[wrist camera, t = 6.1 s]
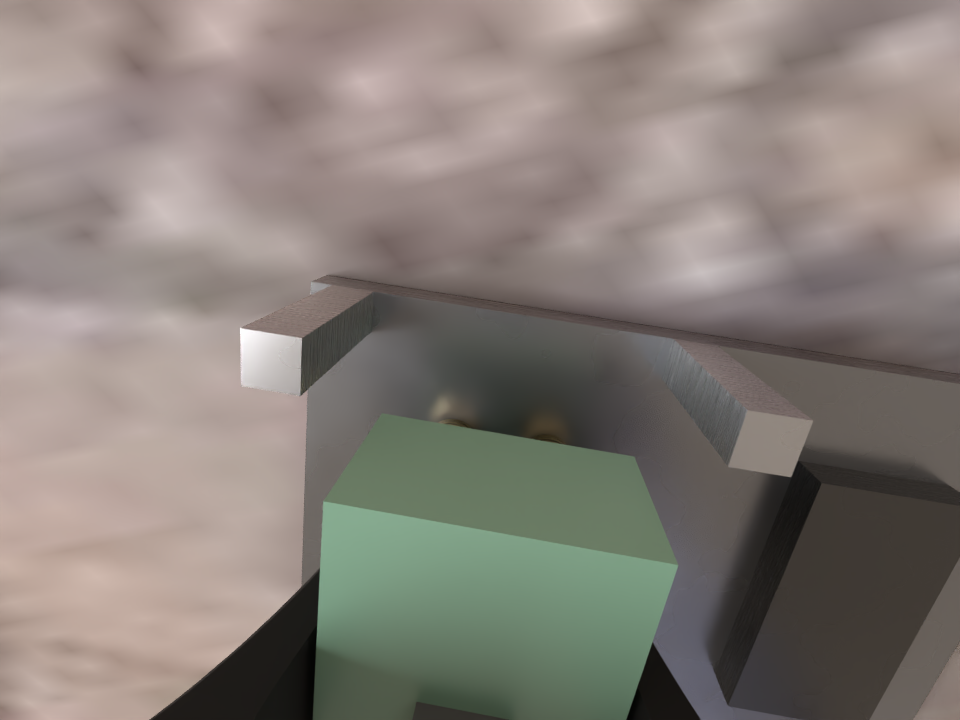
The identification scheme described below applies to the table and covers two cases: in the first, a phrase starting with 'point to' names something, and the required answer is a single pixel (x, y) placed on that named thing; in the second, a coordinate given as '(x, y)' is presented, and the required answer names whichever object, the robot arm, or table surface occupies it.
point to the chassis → (682, 476)
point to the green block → (485, 579)
